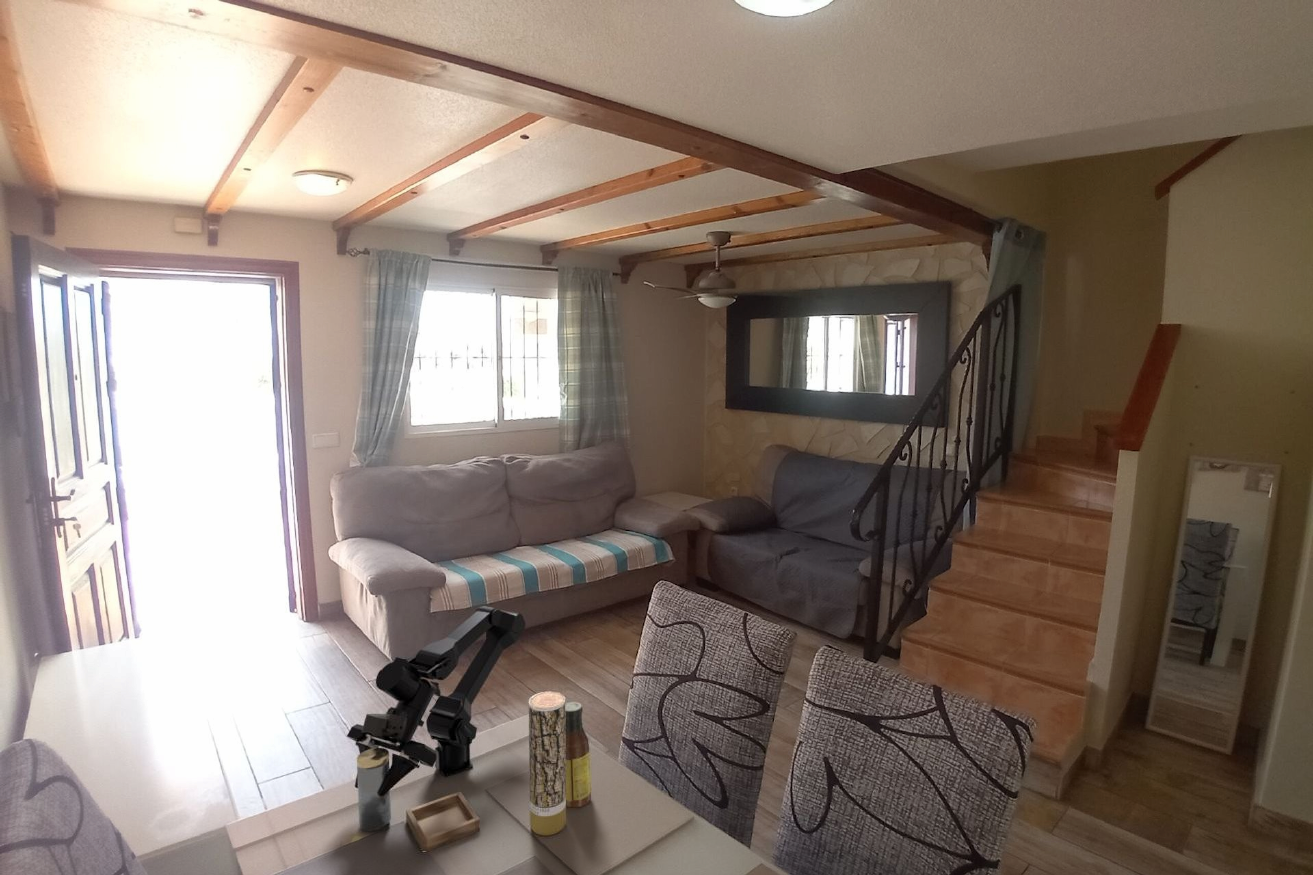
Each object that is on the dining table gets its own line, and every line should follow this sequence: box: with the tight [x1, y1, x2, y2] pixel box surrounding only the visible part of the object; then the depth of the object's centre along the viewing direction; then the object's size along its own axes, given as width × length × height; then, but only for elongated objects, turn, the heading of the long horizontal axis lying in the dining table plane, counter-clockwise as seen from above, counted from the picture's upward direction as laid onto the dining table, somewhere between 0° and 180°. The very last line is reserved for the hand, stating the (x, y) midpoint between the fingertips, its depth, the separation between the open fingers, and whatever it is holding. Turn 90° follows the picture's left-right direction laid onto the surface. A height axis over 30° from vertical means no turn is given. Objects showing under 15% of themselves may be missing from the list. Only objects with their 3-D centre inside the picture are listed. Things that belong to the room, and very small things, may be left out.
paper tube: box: [528, 691, 567, 836], centre depth 127 cm, size 7×7×25 cm
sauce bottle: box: [565, 701, 592, 809], centre depth 135 cm, size 7×6×20 cm
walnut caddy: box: [405, 791, 481, 852], centre depth 128 cm, size 11×11×2 cm
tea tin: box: [356, 747, 392, 831], centre depth 128 cm, size 6×6×13 cm
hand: (368, 791), depth 126 cm, fingers closed on tea tin, 6 cm apart
